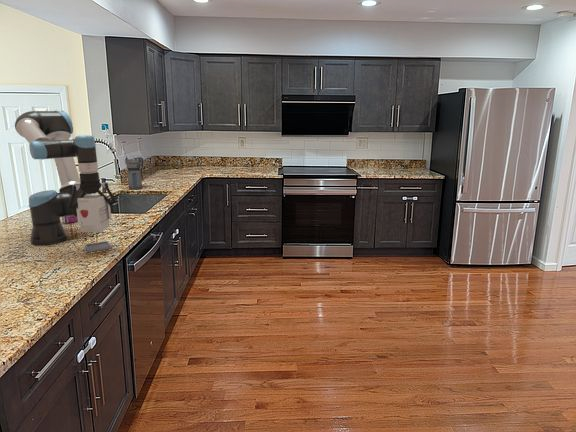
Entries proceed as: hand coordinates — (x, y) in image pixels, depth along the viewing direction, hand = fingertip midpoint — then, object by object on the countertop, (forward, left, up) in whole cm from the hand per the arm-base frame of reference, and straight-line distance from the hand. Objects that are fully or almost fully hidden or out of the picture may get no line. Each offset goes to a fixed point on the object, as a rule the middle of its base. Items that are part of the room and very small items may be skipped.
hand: (94, 221), depth 182 cm
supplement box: (0, 0, -4) cm, 4 cm away
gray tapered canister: (+44, +140, -13) cm, 148 cm away
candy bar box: (-6, +57, -13) cm, 59 cm away
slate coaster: (0, 0, -13) cm, 13 cm away
